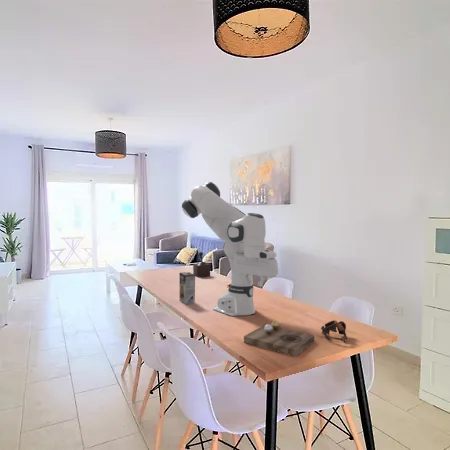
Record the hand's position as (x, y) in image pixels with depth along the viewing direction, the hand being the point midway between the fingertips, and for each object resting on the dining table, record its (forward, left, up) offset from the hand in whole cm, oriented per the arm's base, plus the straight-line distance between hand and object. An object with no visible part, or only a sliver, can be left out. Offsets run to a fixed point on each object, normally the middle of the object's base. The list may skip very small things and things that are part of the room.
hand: (254, 285), depth 141 cm
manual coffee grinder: (-101, +87, -21) cm, 135 cm away
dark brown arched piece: (+29, +18, -21) cm, 40 cm away
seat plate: (+12, 0, -21) cm, 24 cm away
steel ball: (+7, 0, -17) cm, 18 cm away
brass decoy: (+7, +6, -17) cm, 19 cm away
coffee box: (-57, +22, -21) cm, 65 cm away
